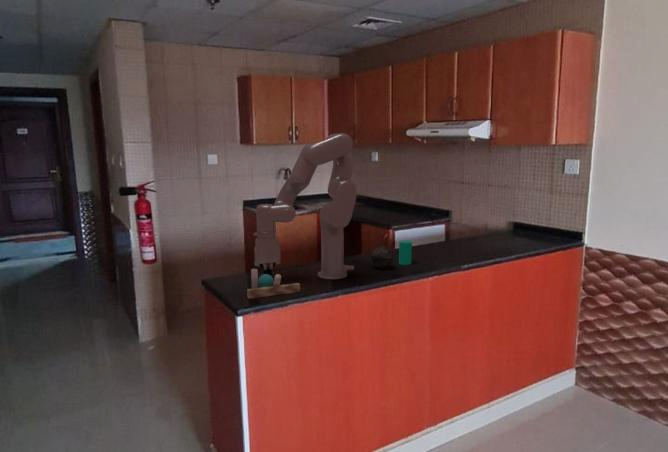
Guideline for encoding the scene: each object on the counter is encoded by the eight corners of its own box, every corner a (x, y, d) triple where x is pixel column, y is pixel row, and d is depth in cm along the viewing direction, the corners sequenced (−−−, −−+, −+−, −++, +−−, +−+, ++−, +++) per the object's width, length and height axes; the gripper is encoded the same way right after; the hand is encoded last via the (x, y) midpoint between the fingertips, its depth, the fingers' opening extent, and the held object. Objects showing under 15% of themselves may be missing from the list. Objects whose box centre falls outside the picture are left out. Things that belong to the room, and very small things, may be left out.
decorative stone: (368, 265, 216) (368, 244, 214) (388, 264, 219) (388, 243, 217) (375, 271, 207) (375, 249, 205) (396, 269, 209) (396, 248, 207)
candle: (410, 261, 224) (410, 237, 222) (412, 264, 218) (413, 239, 216) (397, 261, 224) (398, 237, 222) (399, 264, 218) (400, 239, 216)
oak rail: (298, 290, 180) (298, 282, 179) (300, 291, 178) (300, 284, 178) (247, 297, 172) (247, 289, 172) (248, 298, 170) (248, 290, 170)
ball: (272, 281, 177) (277, 287, 182) (267, 269, 180) (273, 275, 185) (257, 288, 177) (263, 294, 182) (253, 275, 180) (259, 281, 185)
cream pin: (277, 284, 181) (280, 273, 174) (279, 289, 180) (282, 279, 173) (271, 285, 180) (274, 275, 173) (273, 291, 179) (275, 280, 172)
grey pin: (257, 290, 179) (256, 268, 178) (258, 292, 177) (258, 269, 176) (251, 291, 178) (250, 269, 177) (252, 293, 176) (251, 270, 175)
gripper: (250, 238, 181) (251, 283, 184) (287, 235, 187) (287, 279, 190) (246, 234, 188) (247, 278, 191) (281, 231, 194) (282, 274, 197)
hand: (267, 278), depth 191 cm, fingers closed
